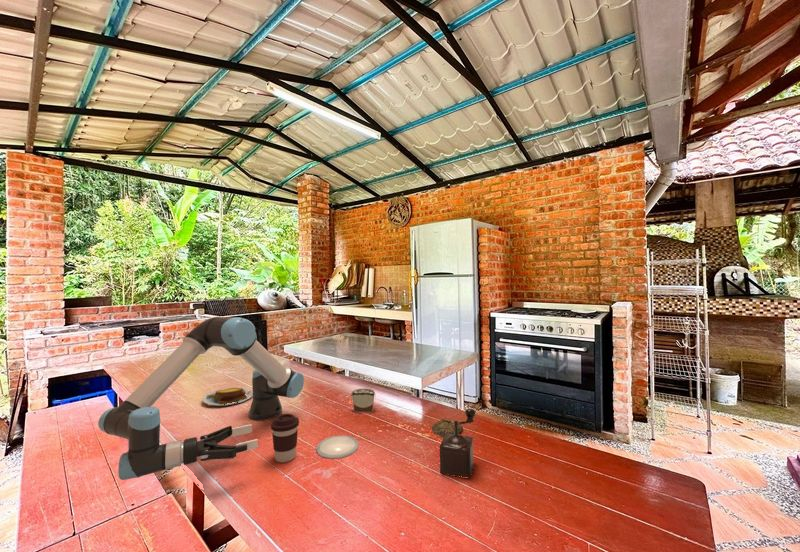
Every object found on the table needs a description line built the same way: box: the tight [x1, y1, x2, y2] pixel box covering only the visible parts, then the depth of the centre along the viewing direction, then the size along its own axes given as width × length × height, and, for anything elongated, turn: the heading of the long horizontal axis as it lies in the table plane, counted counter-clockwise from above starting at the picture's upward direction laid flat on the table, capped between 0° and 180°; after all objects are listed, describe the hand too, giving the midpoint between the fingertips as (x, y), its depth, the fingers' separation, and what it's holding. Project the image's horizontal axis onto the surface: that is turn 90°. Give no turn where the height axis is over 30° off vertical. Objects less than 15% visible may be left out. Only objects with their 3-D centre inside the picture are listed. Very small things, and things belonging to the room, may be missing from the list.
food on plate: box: [202, 386, 253, 407], centre depth 180 cm, size 25×25×7 cm
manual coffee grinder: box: [439, 408, 477, 478], centre depth 115 cm, size 16×11×18 cm
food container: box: [350, 387, 376, 413], centre depth 164 cm, size 12×6×10 cm, turn 84°
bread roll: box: [431, 418, 463, 439], centre depth 140 cm, size 13×12×5 cm
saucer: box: [316, 435, 359, 460], centre depth 128 cm, size 16×16×1 cm
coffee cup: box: [270, 413, 300, 463], centre depth 121 cm, size 10×10×15 cm
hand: (254, 435), depth 115 cm, fingers open, 13 cm apart
